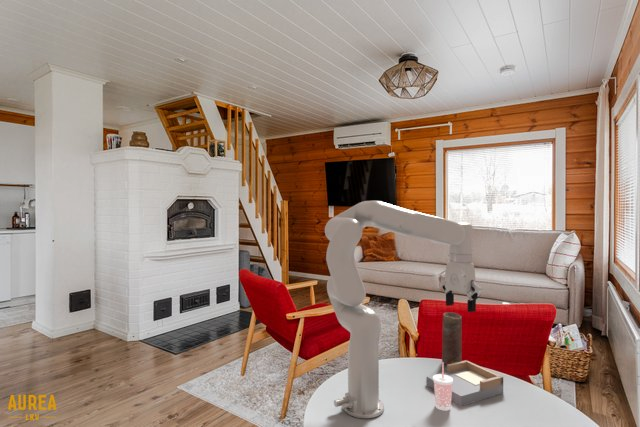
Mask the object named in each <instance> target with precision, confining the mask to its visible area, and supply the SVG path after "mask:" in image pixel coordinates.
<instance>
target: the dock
mask: <svg viewBox="0 0 640 427" xmlns="http://www.w3.org/2000/svg"><path fill="white" fill-rule="evenodd" d="M436 374H437V373H435V374H432V375H428V376H427V375H426V386H428V387H429V388H431V389H433V390H434V381H433V376H434V375H436ZM438 374H442V372H439V373H438ZM444 375H448V376H450V377H452V378H453V383H452V397H451V402H452V401H453V402H454V403H456V404H457V405H459V406H465V405H468V404H472V403H475V402H478V401H479V402H480V401H481V400H482V401H483V400H485V399H489V398H493V397H496V396H499V395H503V394H504V376H502V375H500V374H498V373H496V372H494V371H491V370H489V369H487V368H484V367H482V366H480V365H478V364H476V363H473V362H471V361H469V360H467V359H466V360H461V362H457V363H452V364H448V365H446V371H444Z"/></svg>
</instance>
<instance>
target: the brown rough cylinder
mask: <svg viewBox="0 0 640 427" xmlns="http://www.w3.org/2000/svg"><path fill="white" fill-rule="evenodd" d="M462 317H463V316H462V315H460V314H459V313H456V312H451V311H449V312H444V313H443V314H442V347H441V348H442V350H441V351H442V353H441V363H442V362H444V365H446V366H447V365H448V364H452V363H457V362H461V361H462V355H463V354H462V348H463V347H462V335H463V333H462V332H463V331H462V327H463V326H462V320H463V318H462Z"/></svg>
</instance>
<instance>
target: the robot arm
mask: <svg viewBox="0 0 640 427" xmlns="http://www.w3.org/2000/svg"><path fill="white" fill-rule="evenodd" d="M324 226H325V227H324V234H325V237H326V239H327V240H328V241H329V243H328V246H327V249H326V255H325V260H326V265H327V268H328V271H329V274H330V275H329V278H328V279H327V283H326V292H327V296H328V299H329V301H330V303H331V306H332V308H333V311H334V313H335V317H336V318H337V321H338V323H339V324H340V325H341V327H342V328H344V329H345V330H346V331H348V332H349V333H350V336H349V337H350V338H349V341H348V346H347V392H345V393H344V397H342V398H338V399H334V400H333V405H334V407H335V408H338V407H341V409H342V410H344V411H345V413H347V414H348V415H349V416H351V417H355V418H358V419H373V418H377V417H379V416H380V415H382V414H383V412H384V411H385V405H384V403H383V401H382V400H380V393H379V392H380V390H379V388H380V387H379V386H380V384H379V381H380V380H379V379H380V378H379V373H380V372H379V369H380V368H379V360H380V359H379V348H380V347H379V346H380V338H381V337H380V336H381V331H382V321H381V319H380V316H379V315H378V313H377V312H376V311H374V310H373V309H372V308H371V307H368V306H366V305H364V304H363V303H364V301H365V299H366V296H367V295H366V294H367V293H366V291H367V290H366V287H365V284H364V282H363V279H362V277H361V273H360V271H359V269H358V268H359V267H358V266H357V263H356V259H355V251H356V248H357V245H358V244H359V242H360V240H361V238H362V236H363V229H364V228H366V227H371V228H376V229H379V230H382V231H386V232H387V231H388V232H390V233H394V234H397V235H400V236H401V235H402V236H403V237H405V236H406V237H409V238H420V239H425V240H428V241H429V242H430V243H432V244H435V245H436V244H437V245H445V246H448V252H449V253H448V254H447V257H448V261H446V262H447V263H446V267H445V275H444V278H442V279H440V283H441V286H442V289H443V291H444V294H445V305H446V306H447V307H448V306H454V304H455V303H454V302H455V298H454V297H455V295H454V292H455V293H459V294H466V296H467V297H468V299H467V304H466V305H467V306H466V308H467V310H466V311H467V312H468V313H474V312H476V310H477V307H476V306H477V300H478V299H479V297H480V296H481V294H482V292H483V288H482V287H481V286H480V285H479V284H478V283H476V282H477V280H476V271H475V264H474V263H473V248H474V246H473V245H474V244H473V243H474V242H473V237H474V236H473V232H474V231H473V228H474V227H473V225H472V224H471V223H469V222H456V221H452V220H450V219H447V218H443V217H439V216H435V215H431V214H427V213H422V212H419V211H415V210H411V209H407V208H404V207H400V206H398V205H393V204H392V203H387V202H384V201H382V200H364V201H361V202H358V203H356V204H355V205H352V206H351V207H349V208H348V209H346V210H344V211H342V212H340V213H338V214H337V215H335V216H333V217H332V218H330V219H329V220H328V221H327V222H326V225H324Z"/></svg>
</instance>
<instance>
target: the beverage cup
mask: <svg viewBox="0 0 640 427" xmlns="http://www.w3.org/2000/svg"><path fill="white" fill-rule="evenodd" d="M441 367H442V368H441V373H442V374H439V373H435V374H436V375H435V374H433V375H434V376H433V381H434V389H433V390H434V404H435V408H436V409H438V410H440V411H450V410H451V409H452V400H451V397H452V383H453V378H452V377H450V376H448V375H444V372H445V371H444V370H445V369H444V367H445V364H444V362H442V361H441Z"/></svg>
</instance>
